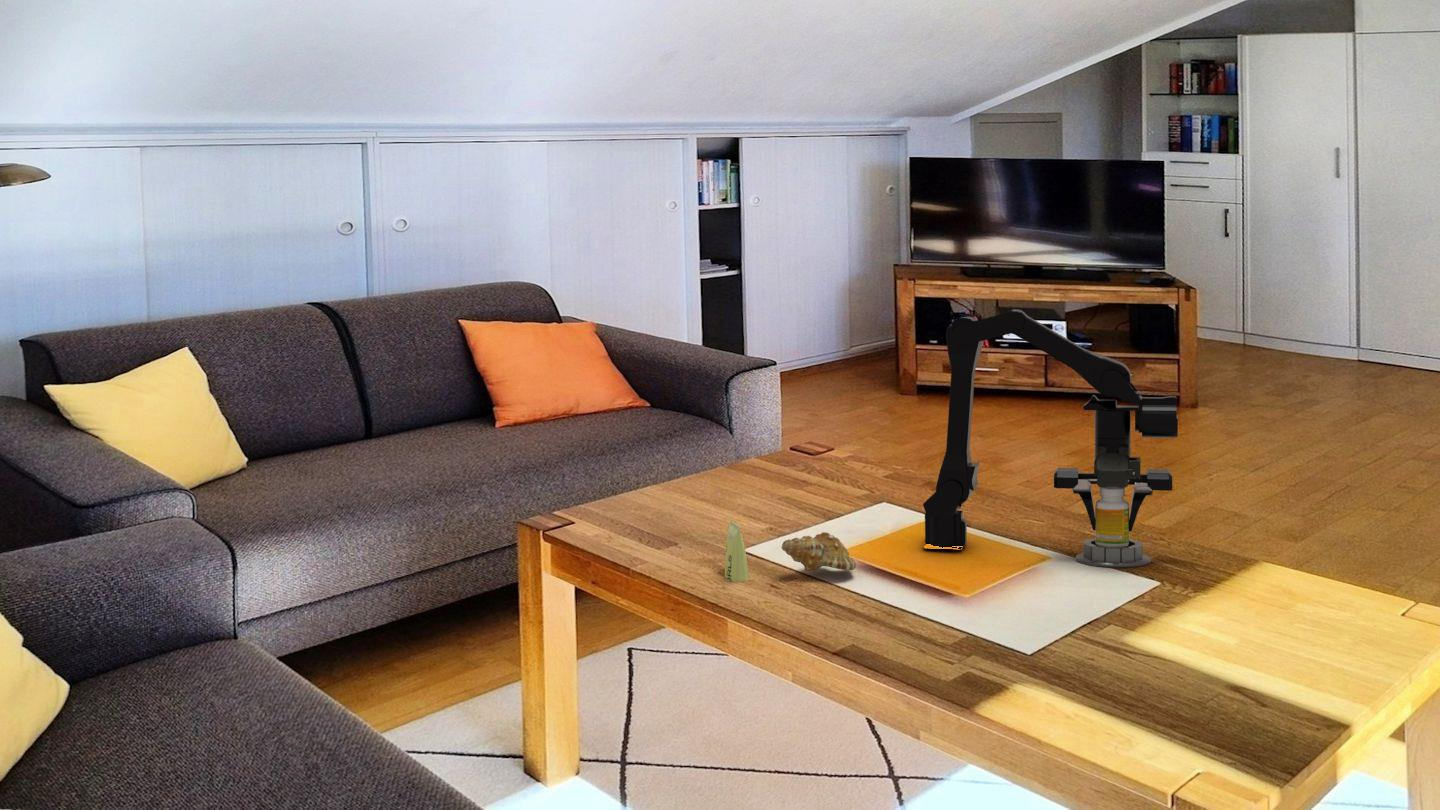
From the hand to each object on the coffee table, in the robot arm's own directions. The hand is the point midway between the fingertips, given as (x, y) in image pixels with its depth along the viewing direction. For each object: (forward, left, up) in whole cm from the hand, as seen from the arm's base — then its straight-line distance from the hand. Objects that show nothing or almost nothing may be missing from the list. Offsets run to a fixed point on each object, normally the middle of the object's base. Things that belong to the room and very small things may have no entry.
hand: (1112, 530), depth 224 cm
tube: (-59, -21, -16) cm, 65 cm away
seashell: (-43, -17, -6) cm, 47 cm away
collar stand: (0, 0, -5) cm, 5 cm away
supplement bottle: (0, 0, -3) cm, 3 cm away
